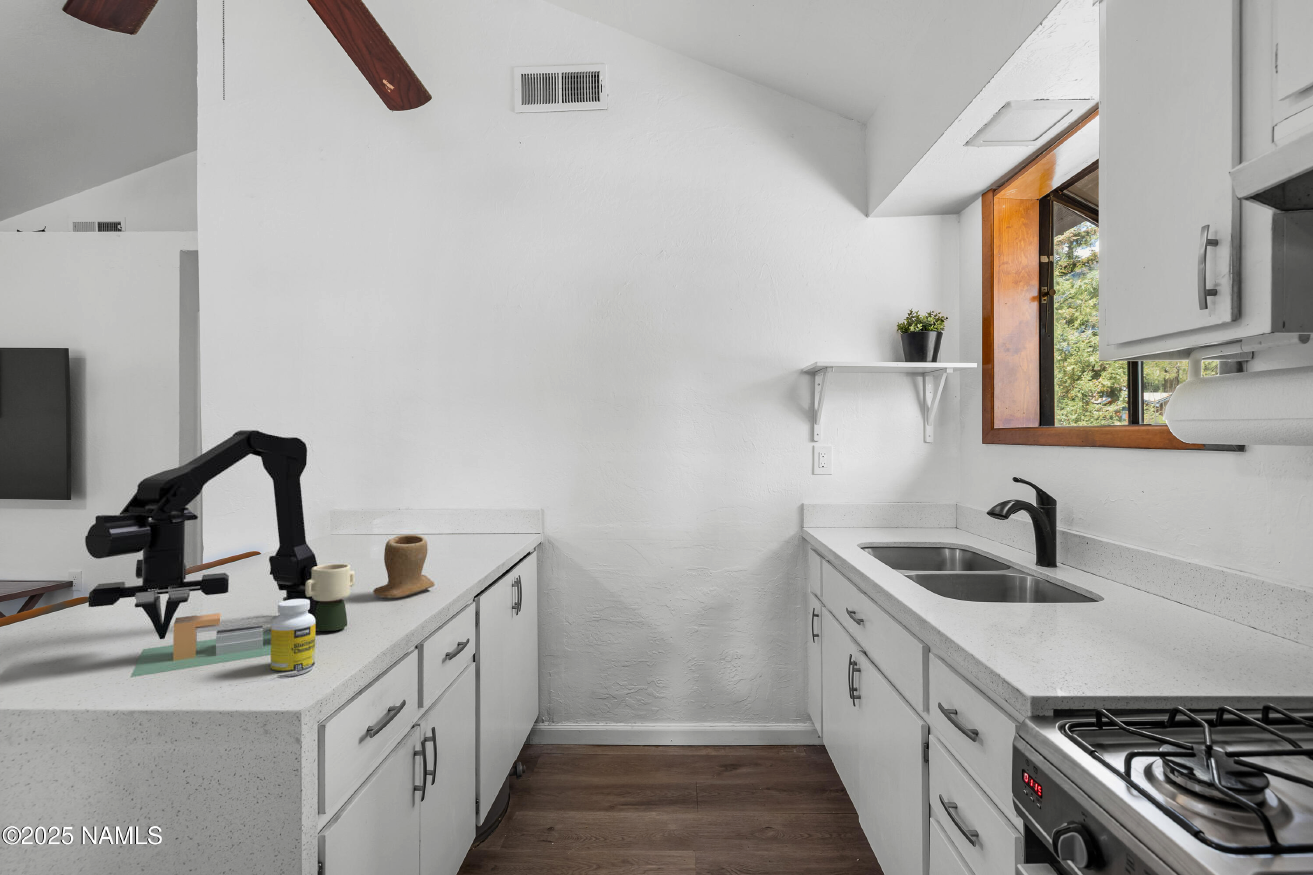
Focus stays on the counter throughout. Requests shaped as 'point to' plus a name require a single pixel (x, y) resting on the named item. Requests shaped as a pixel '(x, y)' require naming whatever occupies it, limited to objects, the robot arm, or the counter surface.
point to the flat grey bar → (237, 624)
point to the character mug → (330, 594)
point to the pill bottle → (293, 638)
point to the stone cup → (404, 567)
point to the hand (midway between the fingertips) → (162, 638)
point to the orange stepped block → (189, 634)
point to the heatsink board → (208, 651)
